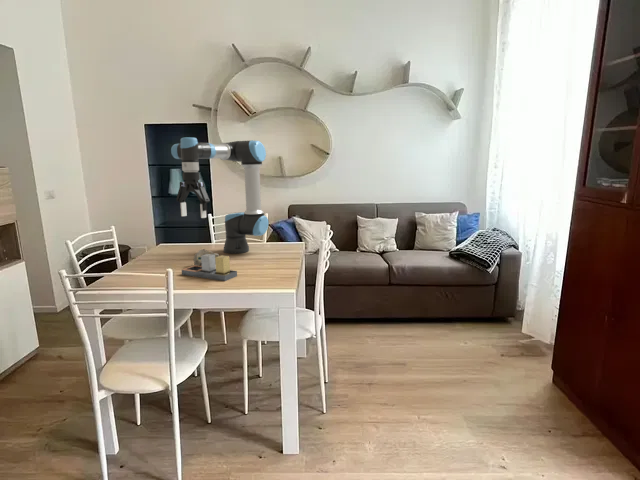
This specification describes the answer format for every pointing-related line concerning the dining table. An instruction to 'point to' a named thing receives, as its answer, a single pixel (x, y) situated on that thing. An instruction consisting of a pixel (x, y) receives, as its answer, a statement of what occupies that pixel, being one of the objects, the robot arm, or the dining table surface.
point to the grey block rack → (197, 272)
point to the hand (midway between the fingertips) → (193, 217)
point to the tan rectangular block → (222, 265)
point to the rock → (201, 252)
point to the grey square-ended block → (208, 263)
